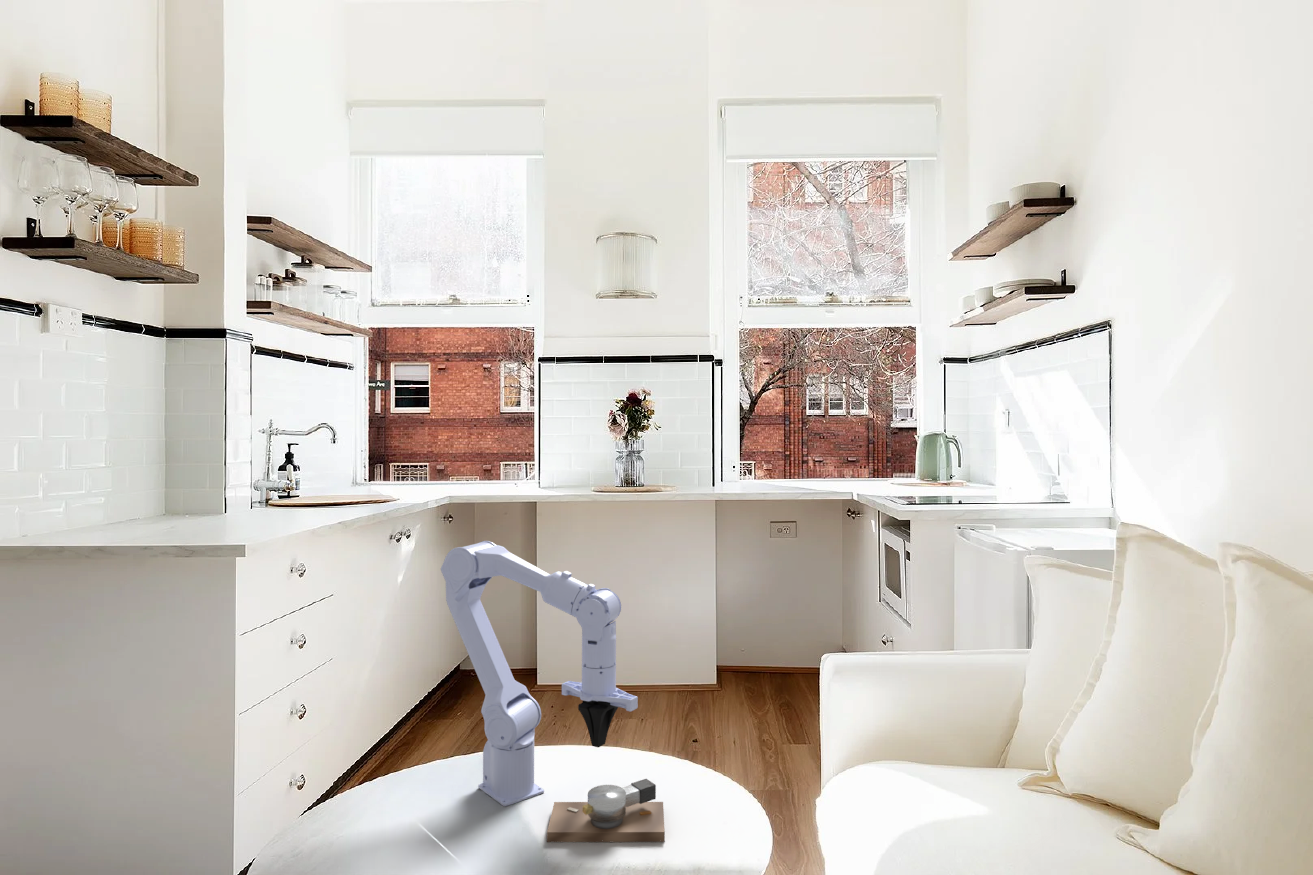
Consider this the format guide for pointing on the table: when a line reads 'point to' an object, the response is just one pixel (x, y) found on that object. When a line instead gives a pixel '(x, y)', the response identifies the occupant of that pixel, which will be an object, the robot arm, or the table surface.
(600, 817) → the silver saucepan
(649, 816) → the mounting board
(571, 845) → the table surface
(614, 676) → the robot arm
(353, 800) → the table surface
